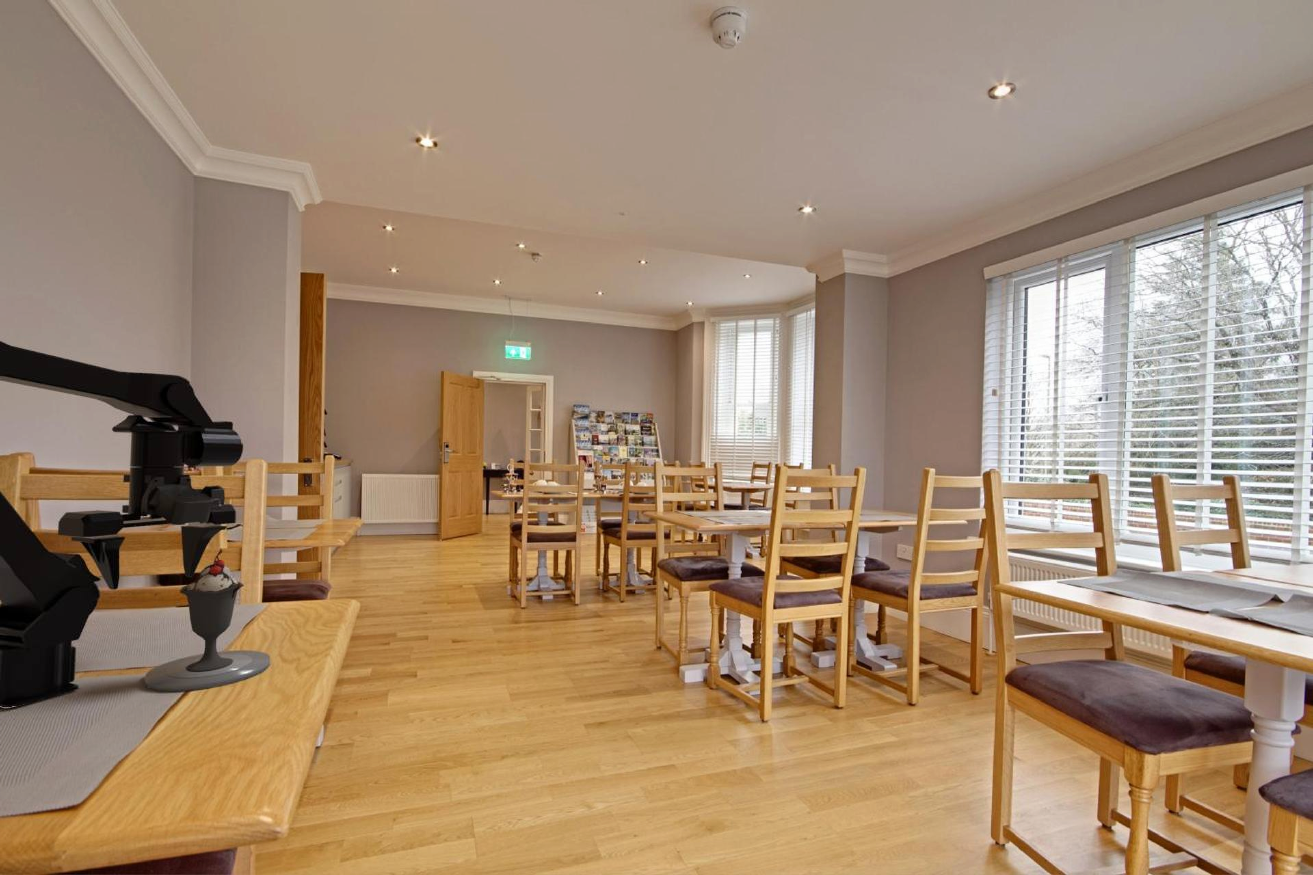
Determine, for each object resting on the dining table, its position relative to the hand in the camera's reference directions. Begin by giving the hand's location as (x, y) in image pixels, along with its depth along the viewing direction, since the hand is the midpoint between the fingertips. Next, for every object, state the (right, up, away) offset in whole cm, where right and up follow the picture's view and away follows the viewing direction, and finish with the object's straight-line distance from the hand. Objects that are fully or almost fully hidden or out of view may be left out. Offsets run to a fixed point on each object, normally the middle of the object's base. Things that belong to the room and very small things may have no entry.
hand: (153, 582), depth 84 cm
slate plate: (+11, -11, -4) cm, 16 cm away
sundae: (+11, -10, -4) cm, 15 cm away
